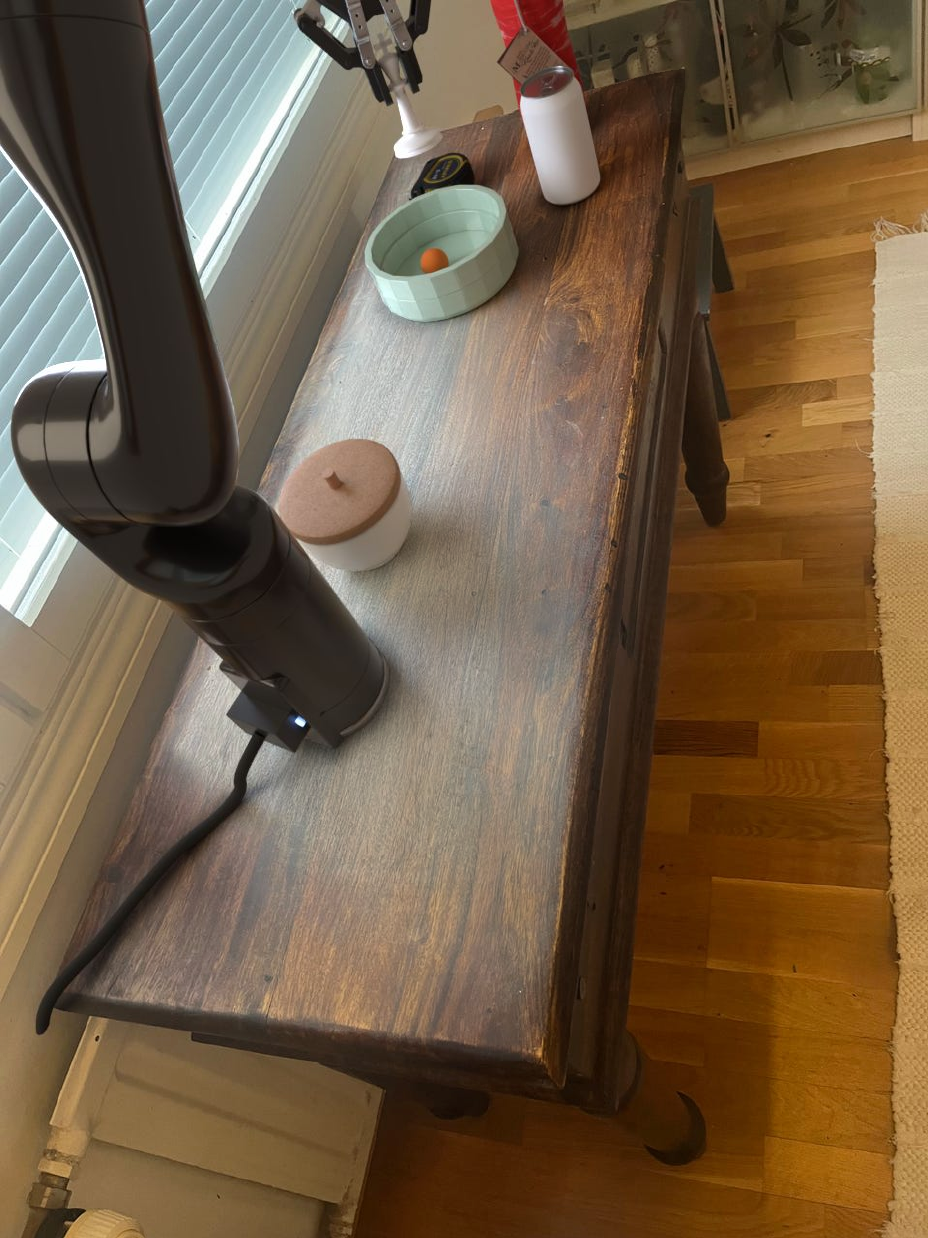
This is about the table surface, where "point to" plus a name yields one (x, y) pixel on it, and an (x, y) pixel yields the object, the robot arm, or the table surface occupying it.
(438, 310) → the bowl
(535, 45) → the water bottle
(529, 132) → the can
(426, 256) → the ball
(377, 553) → the trinket box
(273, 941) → the table surface
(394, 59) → the chess piece
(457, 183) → the tape measure
